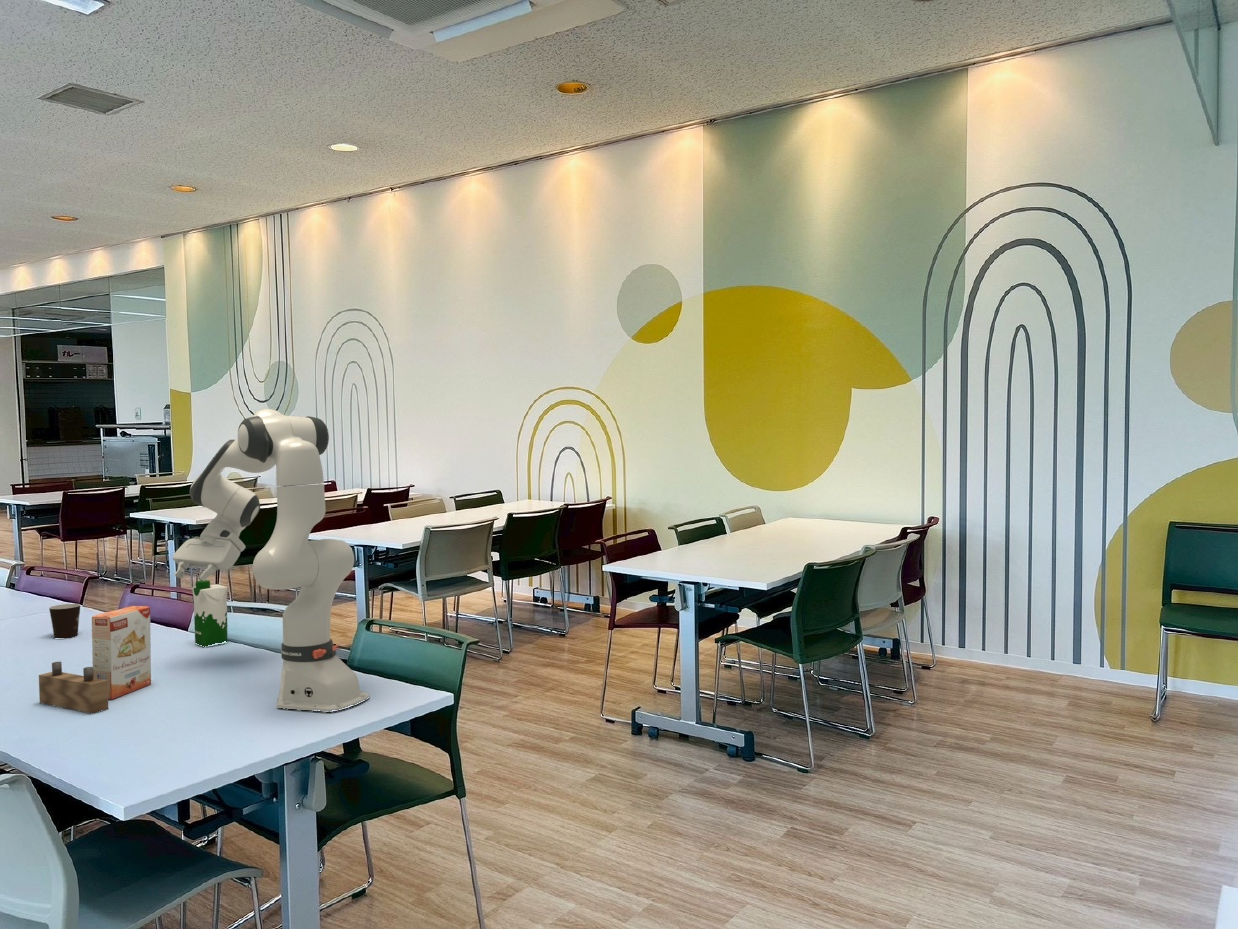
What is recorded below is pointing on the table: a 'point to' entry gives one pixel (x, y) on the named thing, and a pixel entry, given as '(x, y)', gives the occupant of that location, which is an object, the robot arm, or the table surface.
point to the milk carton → (210, 613)
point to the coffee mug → (65, 620)
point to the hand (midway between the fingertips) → (189, 578)
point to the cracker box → (122, 649)
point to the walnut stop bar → (73, 690)
